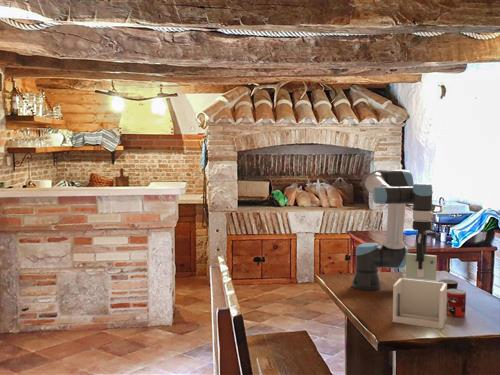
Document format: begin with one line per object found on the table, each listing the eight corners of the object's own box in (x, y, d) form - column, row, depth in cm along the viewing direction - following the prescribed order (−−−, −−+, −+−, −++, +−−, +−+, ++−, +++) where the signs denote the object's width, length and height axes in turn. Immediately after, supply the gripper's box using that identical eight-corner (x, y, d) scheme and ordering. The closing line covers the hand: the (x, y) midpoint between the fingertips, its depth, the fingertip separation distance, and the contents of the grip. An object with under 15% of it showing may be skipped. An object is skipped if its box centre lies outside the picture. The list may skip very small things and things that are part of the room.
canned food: (443, 312, 237) (443, 288, 236) (460, 312, 237) (460, 288, 237) (450, 318, 229) (451, 293, 228) (468, 317, 230) (469, 293, 229)
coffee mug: (459, 304, 249) (459, 284, 248) (439, 303, 251) (440, 283, 250) (454, 297, 260) (455, 278, 260) (436, 297, 262) (436, 277, 261)
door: (405, 277, 221) (405, 254, 221) (406, 276, 224) (407, 253, 223) (435, 280, 216) (435, 256, 215) (436, 279, 218) (436, 255, 218)
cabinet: (392, 321, 224) (393, 285, 223) (399, 312, 237) (400, 278, 236) (441, 329, 215) (442, 290, 214) (446, 319, 228) (447, 283, 226)
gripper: (428, 223, 210) (427, 280, 212) (434, 218, 224) (433, 273, 225) (409, 222, 214) (408, 278, 215) (416, 217, 227) (415, 271, 229)
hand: (420, 275), depth 220 cm, fingers closed on door, 2 cm apart
